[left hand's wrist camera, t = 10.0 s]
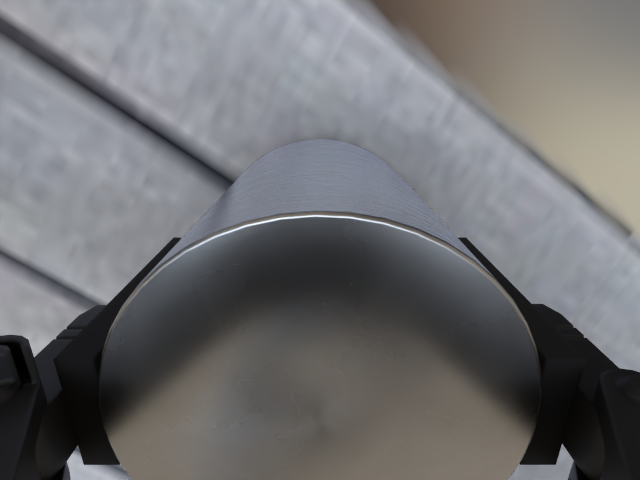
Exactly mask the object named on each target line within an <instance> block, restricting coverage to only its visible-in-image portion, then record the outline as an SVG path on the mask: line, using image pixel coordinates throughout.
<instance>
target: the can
mask: <svg viewBox="0 0 640 480" xmlns="http://www.w3.org/2000/svg"><path fill="white" fill-rule="evenodd" d="M98 394H99V406H100V412H101V417H102V422H103V426H104V429H105V431H106V434H107V437H108V440H109V442H110V445H111V447H112V449H113V451H114V453H115V455H116V456H117V458H118V460H119V462H120V464H121V466H122V467H123V468H124V470H125V471H126V472H127V474H128V475H129V476H130V478H131V479H132V480H508V479H509V478H510V476H511V475H512V473H513V472H514V470H515V469H516V467H517V466H518V465H519V463H520V462H521V460H522V458H523V456H524V454H525V452H526V450H527V448H528V446H529V444H530V442H531V440H532V437H533V433H534V430H535V427H536V424H537V421H538V417H539V410H540V403H541V396H542V394H541V369H540V364H539V359H538V354H537V349H536V345H535V342H534V340H533V337H532V335H531V332H530V329H529V327H528V324H527V322H526V320H525V319H524V317H523V315H522V314H521V312H520V310H519V308H518V307H517V305H516V303H515V302H514V300H513V299H512V298H511V296H510V295H509V294H508V293H507V292H506V290H505V289H504V288H503V287H502V286H501V284H500V283H499V282H498V281H497V280H496V279H495V277H494V276H493V275H492V274H491V273H490V272H489V271H488V270H487V269H486V268H485V267H484V266H483V265H482V264H481V262H480V261H479V260H478V259H477V258H476V257H475V256H474V255H473V254H472V253H471V252H470V251H469V250H468V249H467V247H466V246H465V245H464V244H463V243H462V242H461V241H460V240H459V239H458V238H457V237H456V236H455V235H454V234H453V232H452V231H451V230H450V229H449V228H448V227H447V226H446V225H445V224H444V223H443V222H442V221H441V220H440V219H439V218H438V216H437V215H436V214H435V213H434V212H433V211H432V210H431V209H430V208H429V207H428V206H427V205H426V204H425V203H424V201H423V200H422V199H421V198H420V197H419V196H418V195H417V194H416V193H415V192H414V191H413V190H412V189H411V188H410V186H409V185H408V184H407V183H406V182H405V181H404V180H403V179H402V178H401V177H400V176H399V175H398V174H397V173H396V172H395V170H394V169H393V168H391V167H390V166H389V165H388V164H387V163H386V162H385V161H384V160H382V159H381V158H379V157H378V156H376V155H375V154H373V153H371V152H369V151H367V150H365V149H363V148H361V147H359V146H356V145H353V144H350V143H347V142H342V141H337V140H329V139H312V140H302V141H298V142H293V143H289V144H287V145H284V146H281V147H279V148H276V149H274V150H272V151H271V152H269V153H267V154H265V155H263V156H262V157H261V158H259V159H258V160H257V161H255V162H254V163H253V164H252V165H251V166H250V167H249V168H247V169H246V170H245V171H244V172H243V173H242V174H241V176H240V177H239V178H238V179H237V180H236V181H235V182H234V183H233V184H232V185H231V186H230V187H229V188H228V189H227V191H226V192H225V193H224V194H223V195H222V196H221V197H220V198H219V199H218V200H217V201H216V202H215V203H214V204H213V206H212V207H211V208H210V209H209V210H208V211H207V212H206V213H205V214H204V215H203V216H202V217H201V218H200V219H199V220H198V222H197V223H196V224H195V225H194V226H193V227H192V228H191V229H190V230H189V231H188V232H187V233H186V234H185V235H184V237H183V238H182V239H181V240H180V241H179V242H178V243H177V244H176V245H175V246H174V247H173V248H172V249H171V250H170V251H169V253H168V254H167V255H166V256H165V257H164V258H163V259H162V260H161V261H160V262H159V263H158V264H157V265H156V266H155V268H154V269H153V270H152V271H151V272H150V273H149V274H148V275H147V276H146V277H145V278H144V279H143V280H142V281H141V282H140V284H139V285H138V286H137V287H136V289H135V290H134V291H133V293H132V294H131V295H130V296H129V298H128V299H127V300H126V302H125V303H124V304H123V306H122V307H121V309H120V311H119V313H118V315H117V317H116V319H115V320H114V322H113V324H112V326H111V328H110V330H109V333H108V336H107V339H106V342H105V345H104V348H103V351H102V356H101V363H100V370H99V376H98Z"/></svg>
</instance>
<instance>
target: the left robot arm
mask: <svg viewBox="0 0 640 480" xmlns="http://www.w3.org/2000/svg"><path fill="white" fill-rule="evenodd" d="M181 239H182V238H173V239H172V240H171V241H170V242H169V243H168V244H167V245H166V246H165V247H164V248H163V249H162V250H161V251H160V252H159V253H158V254H157V255H156V256H155V257H154V258H153V259H152V260H151V261H150V262H149V263H148V264H147V265H146V266H145V267H144V268H143V269H142V270H141V271H140V272H139V273H138V274H137V275H136V276H135V277H134V278H133V279H132V280H131V281H130V282H129V283H128V284H127V285H126V286H125V287H124V288H123V289H122V290H121V291H120V292H119V294H118V295H117V296H116V297H115V298H114V299H113V300H112V301H111V302H110V303H109V304H108V305H97V306H96V307H94V308H92V309H90V310H88V311H86V312H85V313H83V314H81V315H79V316H78V317H77V318H76V319H75V320H74V321H73V322H72V323H71V324H70V325H69V326H68V327H67V329H64V330H63V331H62V332H61V333H60V334H59V335H58V336H57V337H56V339H54V340H53V341H51V342H50V343H49V344H48V345H47V346H46V347H45V348H44V349H43V350H42V351H41V352H40V353H39V354H38V355H37V356H35V357H34V356H33V353H32V350H31V347H30V344H29V340H28V339H26V338H24V337H23V336H17V335H5V336H0V480H70V472H69V468H68V465H67V460H68V459H69V457H70V456H71V454H72V453H73V451H74V450H75V448H76V447H77V445H78V446H79V449H80V453H81V456H82V459H83V463H84V465H119V464H120V462H119V460H118V458H117V456H116V455H115V453H114V451H113V449H112V447H111V445H110V442H109V440H108V437H107V434H106V431H105V429H104V426H103V422H102V417H101V412H100V406H99V394H98V376H99V370H100V363H101V356H102V351H103V348H104V345H105V342H106V339H107V336H108V333H109V330H110V328H111V326H112V324H113V322H114V320H115V319H116V317H117V315H118V313H119V311H120V309H121V307H122V306H123V304H124V303H125V302H126V300H127V299H128V298H129V296H130V295H131V294H132V293H133V291H134V290H135V289H136V287H137V286H138V285H139V284H140V282H141V281H142V280H143V279H144V278H145V277H146V276H147V275H148V274H149V273H150V272H151V271H152V270H153V269H154V268H155V266H156V265H157V264H158V263H159V262H160V261H161V260H162V259H163V258H164V257H165V256H166V255H167V254H168V253H169V251H170V250H171V249H172V248H173V247H174V246H175V245H176V244H177V243H178V242H179V241H180V240H181ZM458 239H459V240H460V241H461V242H462V243H463V244H464V245H465V246H466V247H467V249H468V250H469V251H470V252H471V253H472V254H473V255H474V256H475V257H476V258H477V259H478V260H479V261H480V262H481V264H482V265H483V266H484V267H485V268H486V269H487V270H488V271H489V272H490V273H491V274H492V275H493V276H494V277H495V279H496V280H497V281H498V282H499V283H500V284H501V286H502V287H503V288H504V289H505V290H506V292H507V293H508V294H509V295H510V296H511V298H512V299H513V300H514V302H515V303H516V305H517V307H518V308H519V310H520V312H521V314H522V315H523V317H524V319H525V320H526V322H527V324H528V327H529V329H530V332H531V335H532V337H533V340H534V342H535V345H536V349H537V354H538V359H539V364H540V369H541V394H542V396H541V403H540V410H539V417H538V421H537V424H536V427H535V430H534V433H533V437H532V440H531V442H530V444H529V446H528V448H527V450H526V452H525V454H524V456H523V458H522V460H521V462H520V465H556V462H557V458H558V455H559V452H560V448H561V445H562V444H563V445H564V447H565V448H566V449H567V451H568V452H569V454H570V455H571V457H572V458H573V460H574V461H573V465H572V468H571V471H570V474H569V477H568V480H640V372H636V371H633V370H627V369H619V368H618V367H617V366H616V365H615V364H614V363H613V362H612V361H611V360H610V359H609V358H607V357H606V356H605V355H604V354H603V353H602V352H601V351H600V350H599V349H598V348H597V347H596V346H595V345H593V344H592V343H591V342H590V341H589V340H588V339H587V338H584V335H583V334H582V333H581V332H579V331H578V330H577V329H576V328H573V325H572V324H571V323H570V322H569V321H568V320H567V319H565V318H564V317H563V316H562V315H561V314H560V313H558V312H556V311H554V310H552V309H551V308H549V307H547V306H545V305H543V304H531V303H530V302H529V301H528V300H527V299H526V298H525V297H524V296H523V295H522V294H521V293H520V292H519V291H518V290H517V289H516V288H515V287H514V286H513V285H512V284H511V283H510V282H509V281H508V280H507V279H506V278H505V277H504V276H503V275H502V274H501V273H500V272H499V271H498V270H497V269H496V268H495V267H494V266H493V265H492V264H491V263H490V261H489V260H488V259H487V258H486V257H485V256H484V255H483V254H482V253H481V252H480V251H479V250H478V249H477V248H476V247H475V246H474V245H473V244H472V243H471V242H470V241H469V240H468V239H467V238H458Z"/></svg>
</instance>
